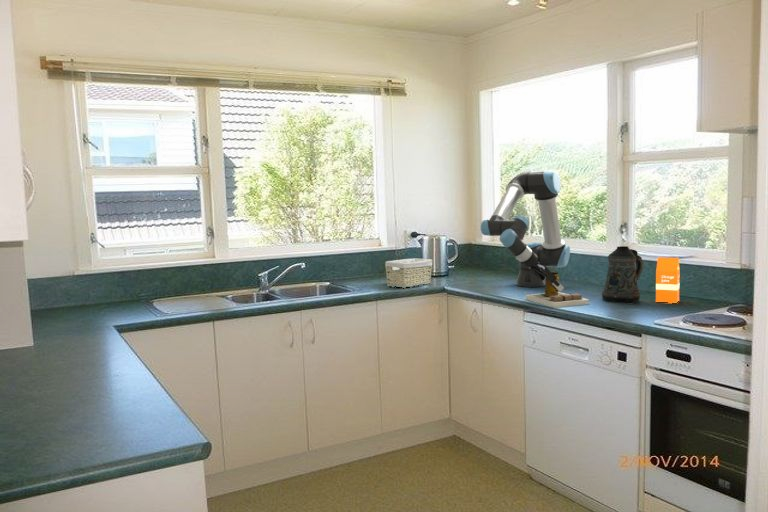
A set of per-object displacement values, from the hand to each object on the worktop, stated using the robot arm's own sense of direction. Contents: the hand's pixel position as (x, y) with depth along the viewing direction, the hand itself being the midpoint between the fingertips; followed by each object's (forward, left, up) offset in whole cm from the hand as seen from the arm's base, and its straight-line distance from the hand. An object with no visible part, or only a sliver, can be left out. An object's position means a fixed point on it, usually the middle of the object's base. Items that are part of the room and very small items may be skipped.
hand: (557, 288), depth 294 cm
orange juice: (+25, +40, -6) cm, 48 cm away
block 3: (+12, +1, -5) cm, 13 cm away
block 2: (+12, -4, -5) cm, 13 cm away
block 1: (+12, -9, -5) cm, 15 cm away
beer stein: (+13, +25, -6) cm, 29 cm away
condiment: (-1, -4, -4) cm, 5 cm away
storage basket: (-79, -45, -6) cm, 92 cm away
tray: (+4, -4, -6) cm, 8 cm away
